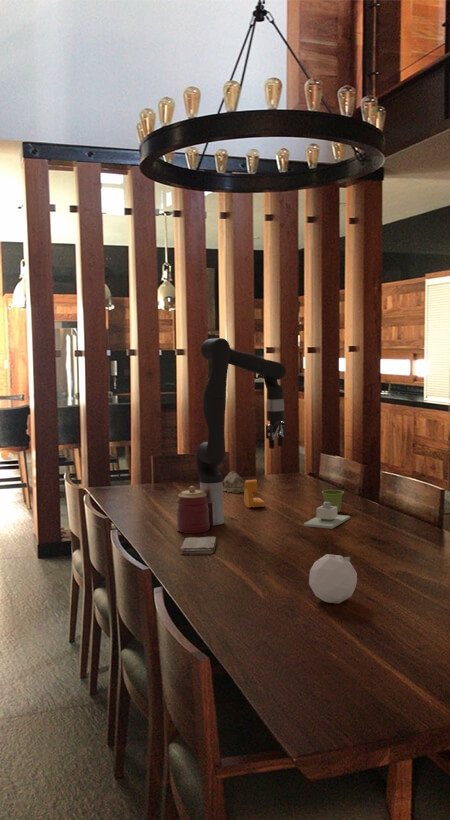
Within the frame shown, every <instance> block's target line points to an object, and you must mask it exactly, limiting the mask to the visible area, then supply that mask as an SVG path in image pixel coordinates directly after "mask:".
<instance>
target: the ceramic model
mask: <svg viewBox="0 0 450 820" xmlns="http://www.w3.org/2000/svg"><path fill="white" fill-rule="evenodd" d="M243 482H244V480H243V478H242V477H241V476H240V475H239V474H238V473H237V472H236V471H235V470H232V471H230V472H228V474H227V475H226V476H224V479H223V485H224V486H223V491H227V492H226V493H228V492H232V493H231V494H240V492H241V493H244V488H245V487H244V486H243Z"/></svg>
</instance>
